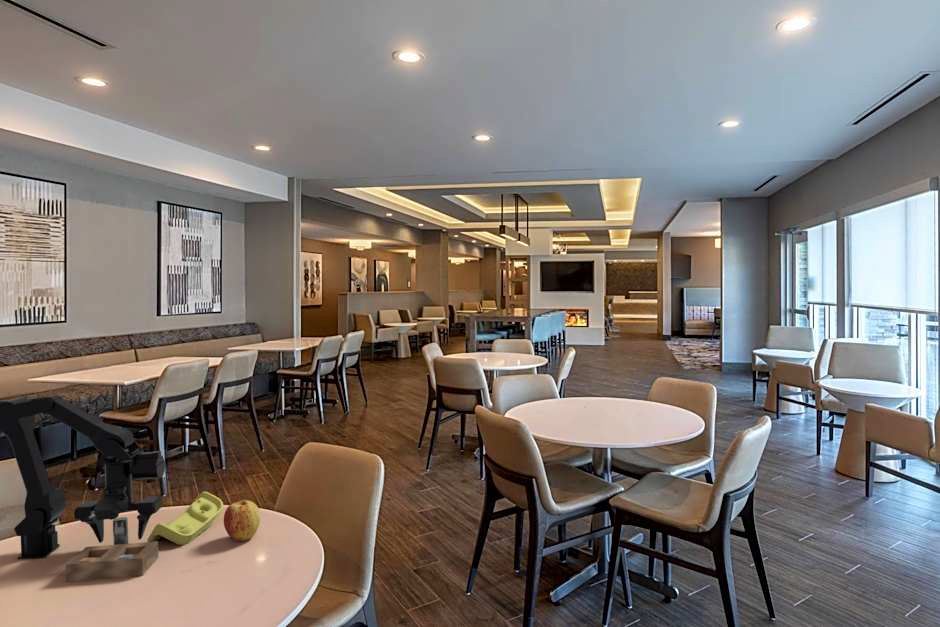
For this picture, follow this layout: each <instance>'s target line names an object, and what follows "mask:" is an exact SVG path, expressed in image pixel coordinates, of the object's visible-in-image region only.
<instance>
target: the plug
mask: <svg viewBox="0 0 940 627" xmlns="http://www.w3.org/2000/svg"><path fill="white" fill-rule="evenodd" d="M128 519H129V518H128V517H127V516H122V517H117V518H116V519H112V533H113V537H112V538H113V539H112V540H113V545H118V544H129V527H128V525H129V524H128V523H129V522H128V521H129V520H128Z"/></svg>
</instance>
